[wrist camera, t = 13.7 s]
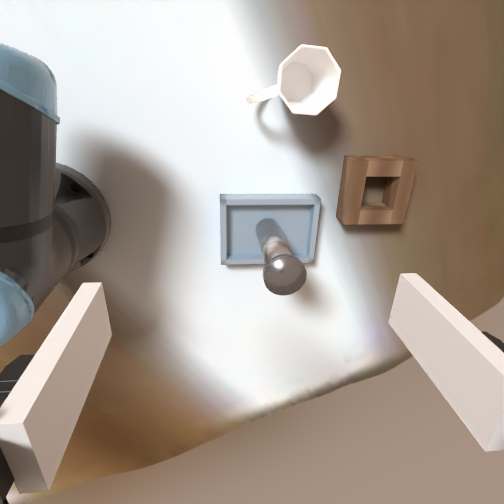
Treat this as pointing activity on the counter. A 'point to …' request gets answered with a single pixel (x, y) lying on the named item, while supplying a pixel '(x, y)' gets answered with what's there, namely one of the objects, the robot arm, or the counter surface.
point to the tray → (261, 207)
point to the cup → (304, 81)
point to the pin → (279, 260)
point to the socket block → (395, 191)
